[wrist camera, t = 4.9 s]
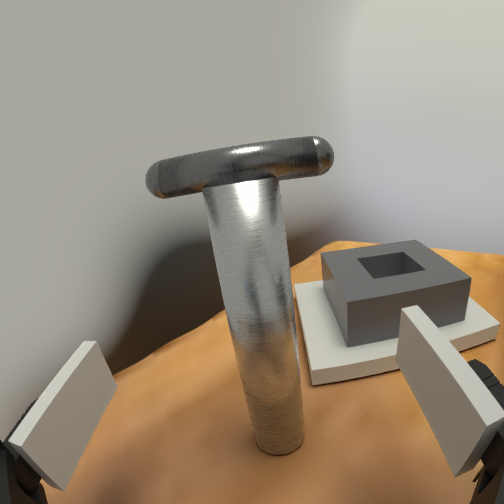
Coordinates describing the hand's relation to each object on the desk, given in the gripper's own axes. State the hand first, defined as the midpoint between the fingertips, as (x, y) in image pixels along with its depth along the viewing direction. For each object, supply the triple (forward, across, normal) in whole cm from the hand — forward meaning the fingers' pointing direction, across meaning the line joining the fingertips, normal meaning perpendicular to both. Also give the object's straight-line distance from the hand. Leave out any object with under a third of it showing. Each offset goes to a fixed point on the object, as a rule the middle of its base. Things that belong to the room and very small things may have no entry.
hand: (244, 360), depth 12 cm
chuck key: (+2, +1, -8) cm, 9 cm away
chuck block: (+14, +12, -8) cm, 20 cm away
